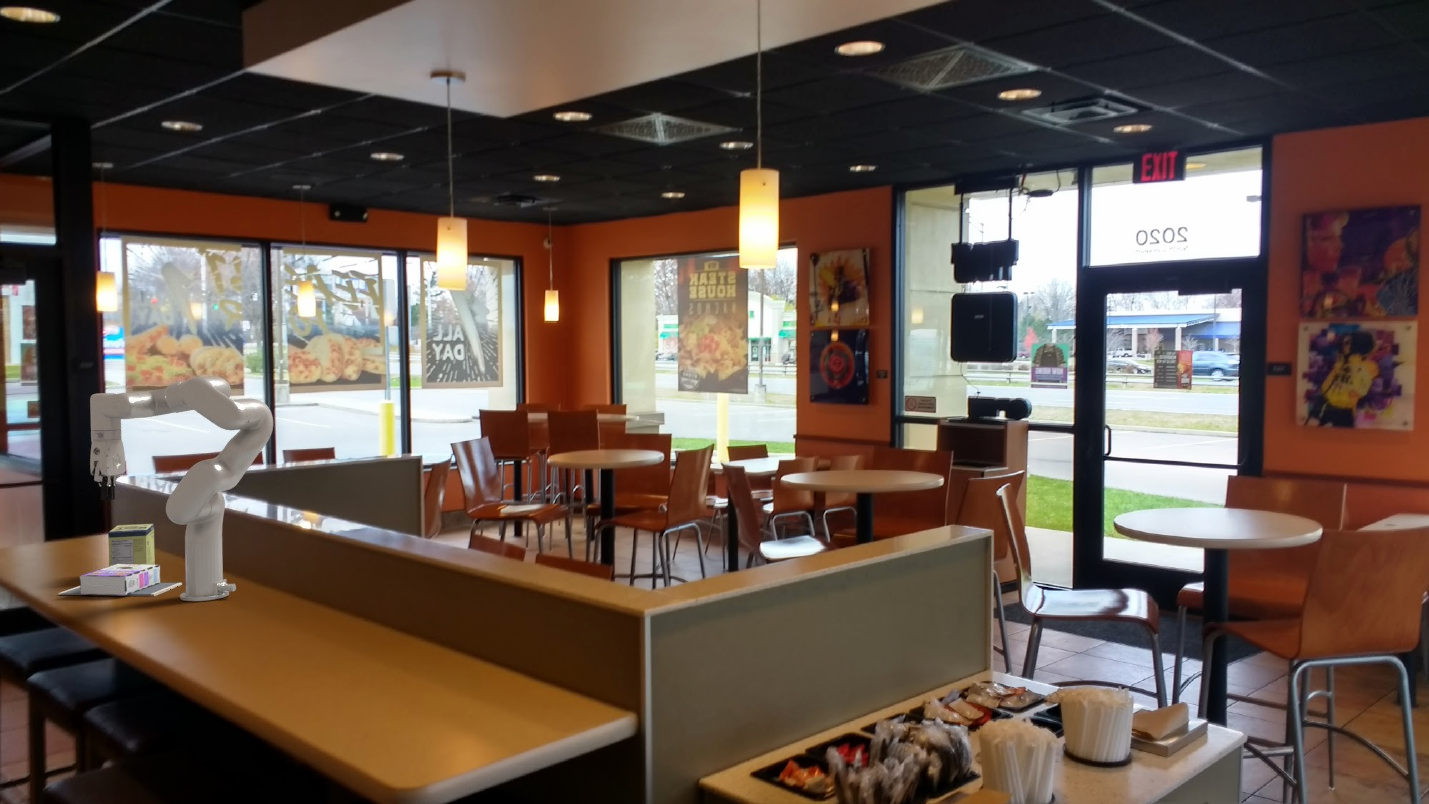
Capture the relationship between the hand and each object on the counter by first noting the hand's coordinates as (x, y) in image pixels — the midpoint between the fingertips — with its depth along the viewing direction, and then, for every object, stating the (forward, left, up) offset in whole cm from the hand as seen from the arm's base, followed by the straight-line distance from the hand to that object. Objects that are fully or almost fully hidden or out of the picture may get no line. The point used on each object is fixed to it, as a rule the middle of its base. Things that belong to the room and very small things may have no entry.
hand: (108, 499), depth 298 cm
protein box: (+8, -25, -28) cm, 38 cm away
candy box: (0, +4, -24) cm, 24 cm away
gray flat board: (0, -6, -28) cm, 28 cm away
